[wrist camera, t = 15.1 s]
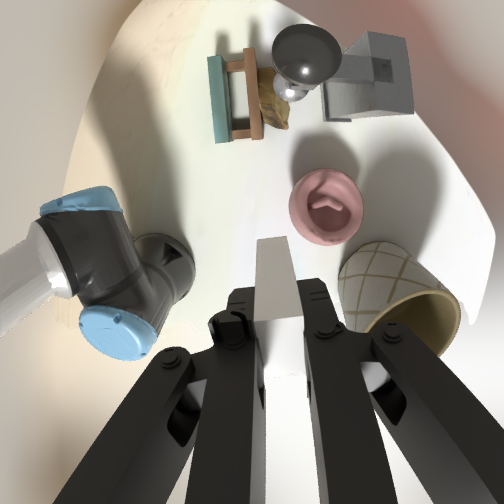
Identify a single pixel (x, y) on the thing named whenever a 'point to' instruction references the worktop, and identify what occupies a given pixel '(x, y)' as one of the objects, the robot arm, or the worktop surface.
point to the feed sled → (222, 99)
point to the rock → (271, 100)
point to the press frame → (368, 81)
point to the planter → (397, 295)
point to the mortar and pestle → (326, 207)
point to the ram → (303, 59)
